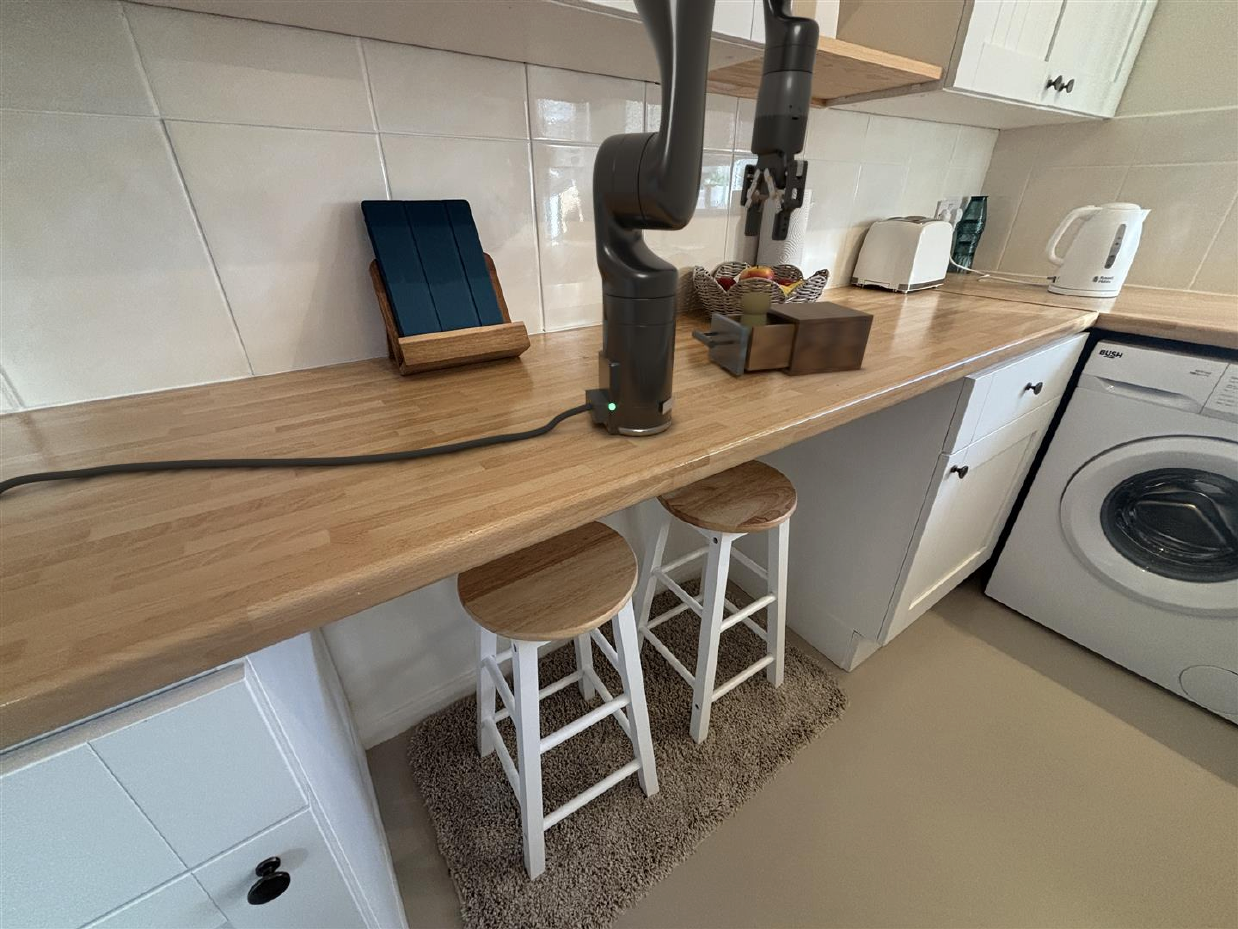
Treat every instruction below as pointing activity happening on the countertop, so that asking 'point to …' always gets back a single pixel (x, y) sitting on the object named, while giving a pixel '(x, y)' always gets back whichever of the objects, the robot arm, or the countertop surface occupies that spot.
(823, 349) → the cabinet
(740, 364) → the drawer
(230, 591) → the countertop surface
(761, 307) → the olive chess pawn
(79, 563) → the countertop surface
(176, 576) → the countertop surface
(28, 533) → the countertop surface
